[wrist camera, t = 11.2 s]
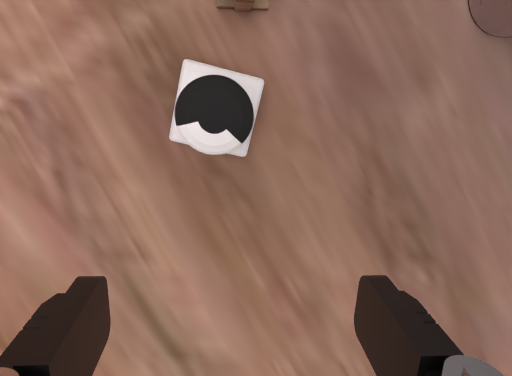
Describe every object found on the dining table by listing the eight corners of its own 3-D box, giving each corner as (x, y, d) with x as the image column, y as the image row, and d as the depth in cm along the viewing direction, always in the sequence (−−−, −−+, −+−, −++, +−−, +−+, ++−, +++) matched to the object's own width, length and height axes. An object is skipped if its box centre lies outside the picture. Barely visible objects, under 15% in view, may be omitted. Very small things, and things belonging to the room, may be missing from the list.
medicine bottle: (190, 60, 37) (175, 55, 25) (258, 78, 38) (272, 81, 26) (178, 128, 39) (157, 152, 27) (242, 144, 40) (249, 172, 28)
